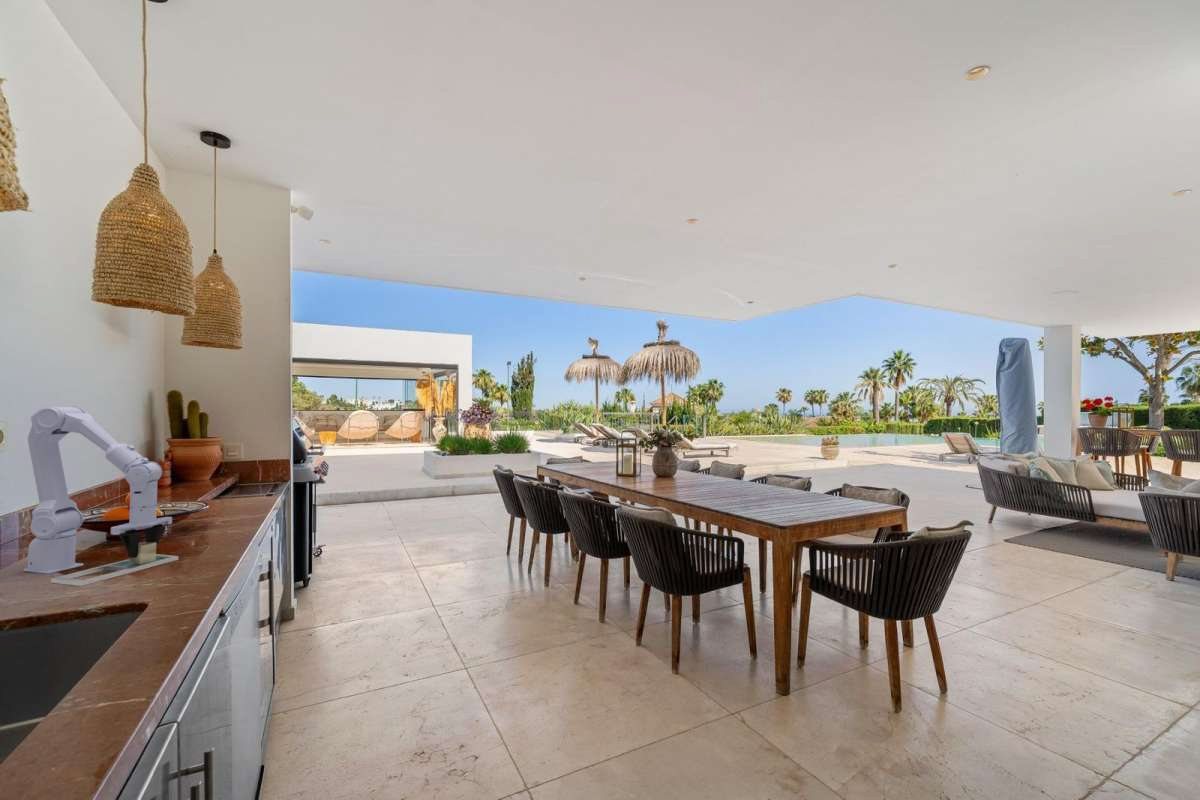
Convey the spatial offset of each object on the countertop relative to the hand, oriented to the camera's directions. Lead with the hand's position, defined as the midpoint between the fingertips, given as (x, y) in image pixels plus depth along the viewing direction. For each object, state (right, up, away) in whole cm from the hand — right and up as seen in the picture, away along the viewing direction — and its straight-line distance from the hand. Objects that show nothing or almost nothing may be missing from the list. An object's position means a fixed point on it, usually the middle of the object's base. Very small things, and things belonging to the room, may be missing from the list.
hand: (141, 555), depth 146 cm
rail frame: (-1, -3, -5) cm, 6 cm away
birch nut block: (0, -2, 0) cm, 2 cm away
